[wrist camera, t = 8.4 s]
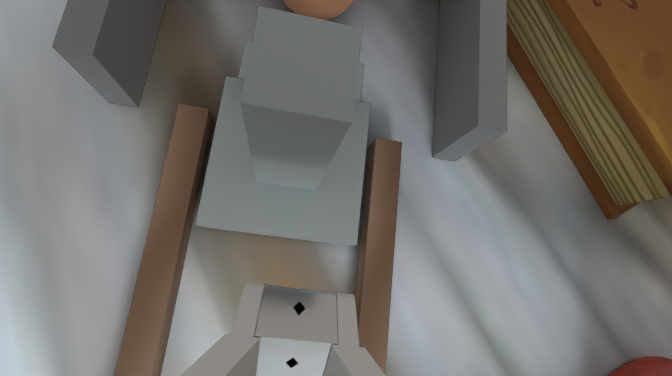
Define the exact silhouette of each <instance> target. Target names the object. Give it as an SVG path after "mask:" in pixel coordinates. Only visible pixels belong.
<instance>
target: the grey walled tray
mask: <svg viewBox="0 0 672 376" xmlns="http://www.w3.org/2000/svg"><path fill="white" fill-rule="evenodd" d="M166 1H167V0H68V2H67V5H66V8H65V11H64V14H63V17H62V20H61V22H60V25H59V28H58V31H57V34H56V37H55V40H54V43H53V46H52V47H53V48H54V49H55V50H56V51H57V52H58V53H59V54H60V55H61V56H62V57H63V58H64V59H65V60H66V61H67V62H68V63H69V64H70V65H71V66H72V67H73V68H74V69H75V70H76V71H77V72H78V73H79V74H80V75H81V76H82V77H83V78H84V79H85V80H86V81H87V82H88V83H89V84H91V85H92V86H93V87H94V88H95V89H96V90H97V91H98V92H99V93H100V94H101V95H102V96H103V97H104V98H105V99H106V100H107V101H108V102H109V103H115V104H121V105H127V106H133V107H138V106H139V102H140V99H141V95H142V91H143V87H144V84H145V80H146V76H147V72H148V69H149V65H150V61H151V57H152V54H153V50H154V46H155V42H156V39H157V35H158V31H159V27H160V24H161V20H162V16H163V12H164V9H165V5H166ZM506 131H507V22H506V0H440V13H439V33H438V53H437V73H436V93H435V113H434V133H433V153H432V157H434V158H439V159H445V160H451V161H456V160H458V159H460V158H461V157H463V156H465V155H467V154H468V153H470V152H472V151H474V150H475V149H477V148H479V147H480V146H482V145H484V144H486V143H487V142H489V141H491V140H493V139H494V138H496V137H498V136H500V135H501V134H503V133H505V132H506Z"/></svg>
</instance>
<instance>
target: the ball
mask: <svg viewBox="0 0 672 376" xmlns="http://www.w3.org/2000/svg"><path fill="white" fill-rule="evenodd" d="M283 1H284V2H285V4H286V5H287V6H288V7H289V8H290V9H291V10H292V11H293V12H294V13H296V14H299V15H304V16H309V17H313V18H318V19H322V20H330V19H333V18H335V17H337V16H339V15H341V14H342V13H343V12H345V11H346V10H347V9H348V8H349V7H350V5H351V4H352V3H353V1H354V0H283Z"/></svg>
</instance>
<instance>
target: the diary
mask: <svg viewBox="0 0 672 376" xmlns="http://www.w3.org/2000/svg"><path fill="white" fill-rule="evenodd" d="M506 22H507V55H508V56H509V58H510V60H511V61H512V63H513V65H514V66H515V68H516V70H517V71H518V73H519V75H520V76H521V78H522V80H523V81H524V83H525V84H526V86H527V88H528V89H529V91H530V93H531V94H532V96H533V98H534V99H535V101H536V103H537V104H538V106H539V108H540V109H541V111H542V112H543V114H544V116H545V117H546V119H547V121H548V122H549V124H550V126H551V127H552V129H553V131H554V132H555V134H556V136H557V137H558V139H559V140H560V142H561V144H562V145H563V147H564V149H565V150H566V152H567V154H568V155H569V157H570V159H571V160H572V162H573V164H574V165H575V167H576V168H577V170H578V172H579V173H580V175H581V177H582V178H583V180H584V182H585V183H586V185H587V187H588V188H589V190H590V191H591V193H592V195H593V196H594V198H595V200H596V201H597V203H598V205H599V206H600V208H601V210H602V211H603V213H604V215H605V216H606V218H607V219H608V220H610V219H615V218H616V217H618V216H620V215H621V214H623V213H624V212H626V211H627V210H629V209H630V208H632V207H633V206H635V205H637V204H638V203H640V202H642V201H648V200H653V199H659V198H665V197H671V196H672V0H506Z"/></svg>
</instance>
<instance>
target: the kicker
mask: <svg viewBox="0 0 672 376" xmlns="http://www.w3.org/2000/svg"><path fill="white" fill-rule="evenodd" d="M361 36H362V28H359V27H354V26H350V25H345V24H341V23H336V22H331V21H327V20H322V19H318V18H313V17H309V16H304V15H299V14H295V13H290V12H286V11H281V10H276V9H272V8H267V7H263V6H259V8H258V13H257V18H256V24H255V29H254V34H253V39H252V42H251V41H246V40H245V45H244V50H243V55H242V60H241V65H240V70H239V75H238V78H235V77H229V76H226V79H225V84H224V88H223V93H222V98H221V103H220V108H219V113H218V117H217V122H216V127H215V132H214V137H213V142H212V146H211V151H210V156H209V161H208V166H207V171H206V175H205V180H204V185H203V190H202V195H201V200H200V204H199V209H198V214H197V219H196V225H198V226H200V227H205V228H213V229H221V230H229V231H237V232H245V233H253V234H260V235H268V236H276V237H284V238H292V239H300V240H308V241H315V242H323V243H331V244H339V245H347V246H354V245H357V239H358V229H359V218H360V208H361V198H362V187H363V177H364V167H365V157H366V146H367V136H368V126H369V115H370V105H371V103H368V102H363V101H360V98H361V88H362V79H363V69H364V64H359V55H360V46H361Z"/></svg>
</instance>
